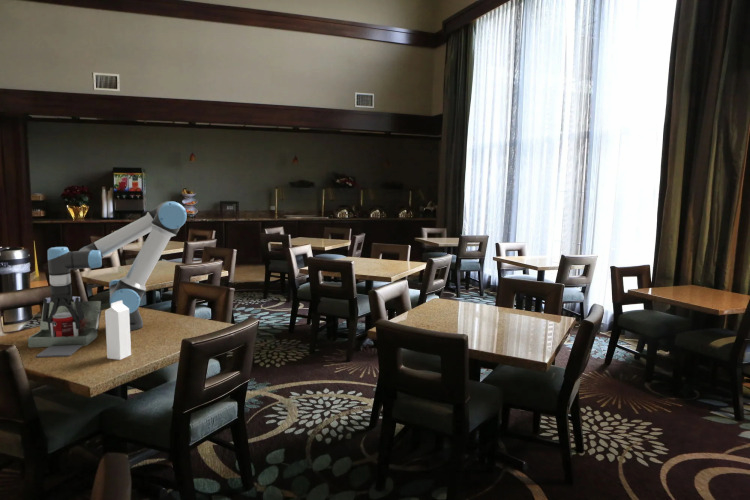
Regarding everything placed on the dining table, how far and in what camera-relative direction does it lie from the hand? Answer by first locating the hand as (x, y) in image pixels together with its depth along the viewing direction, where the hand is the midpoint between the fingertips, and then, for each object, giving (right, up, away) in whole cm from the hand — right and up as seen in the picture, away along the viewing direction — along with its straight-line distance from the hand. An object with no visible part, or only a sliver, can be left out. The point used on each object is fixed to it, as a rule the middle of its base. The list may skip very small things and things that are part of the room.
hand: (65, 336), depth 213 cm
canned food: (0, -1, 0) cm, 2 cm away
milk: (+31, -5, -16) cm, 36 cm away
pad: (+5, -4, -12) cm, 14 cm away
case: (-1, -2, +3) cm, 3 cm away
